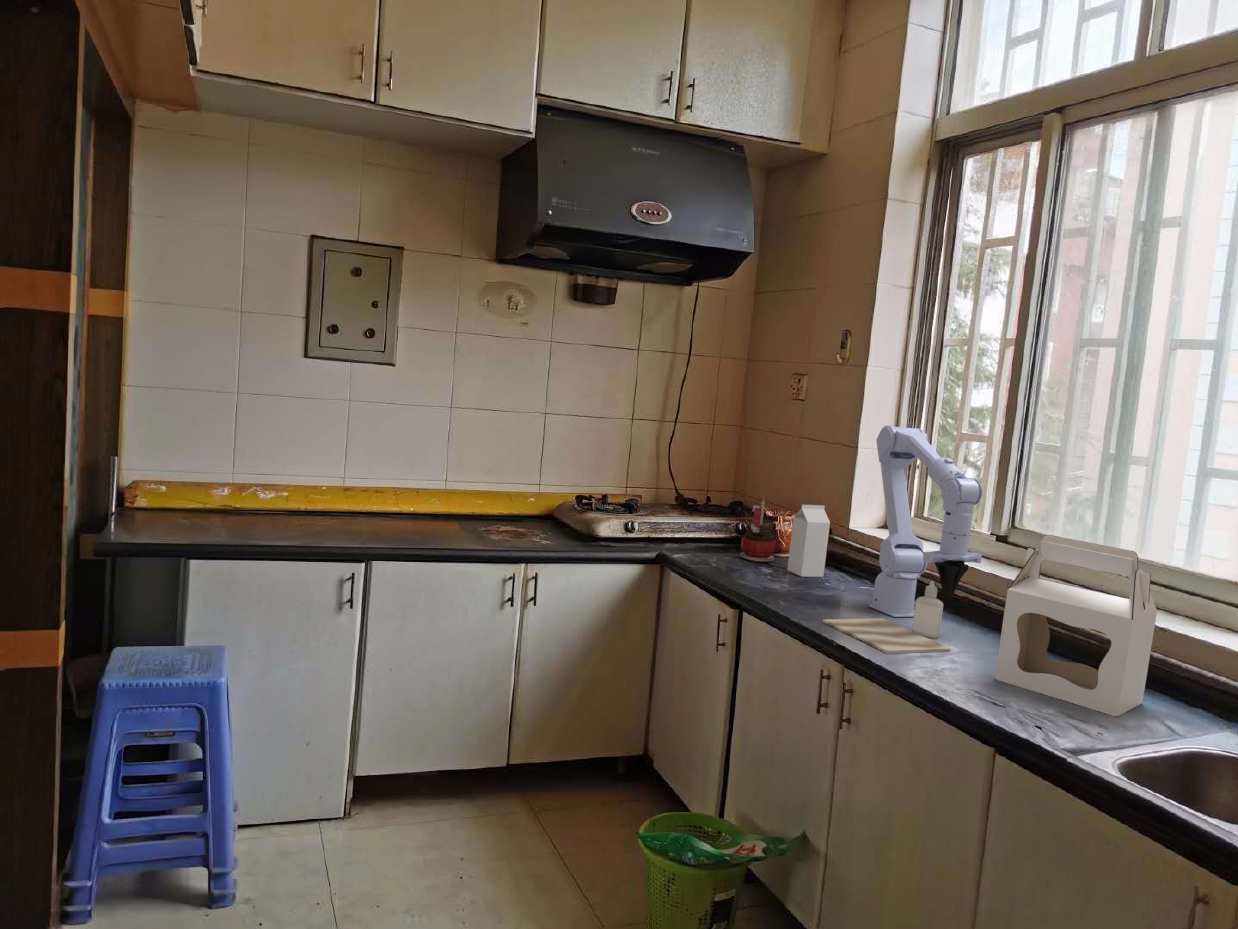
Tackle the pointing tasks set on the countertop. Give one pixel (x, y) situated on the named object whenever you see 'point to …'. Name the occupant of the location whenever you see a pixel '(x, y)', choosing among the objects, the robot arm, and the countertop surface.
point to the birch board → (886, 635)
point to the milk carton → (809, 541)
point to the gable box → (1078, 607)
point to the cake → (758, 539)
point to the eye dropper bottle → (928, 613)
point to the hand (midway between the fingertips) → (947, 594)
